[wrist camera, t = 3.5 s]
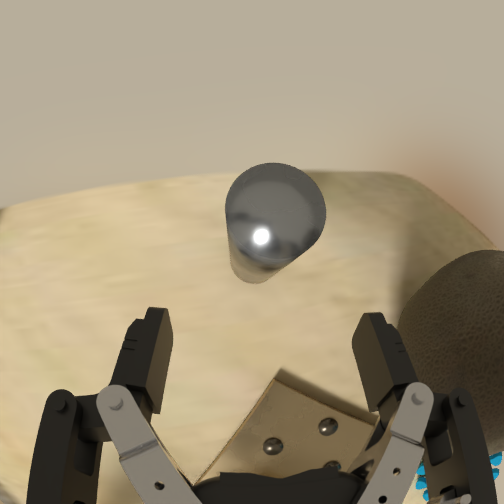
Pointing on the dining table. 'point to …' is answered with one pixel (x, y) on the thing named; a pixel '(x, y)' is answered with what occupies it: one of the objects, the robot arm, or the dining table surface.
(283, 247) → the pin
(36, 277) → the dining table surface
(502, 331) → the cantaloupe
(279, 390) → the hinge leaf
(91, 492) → the robot arm
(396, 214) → the dining table surface
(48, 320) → the dining table surface
